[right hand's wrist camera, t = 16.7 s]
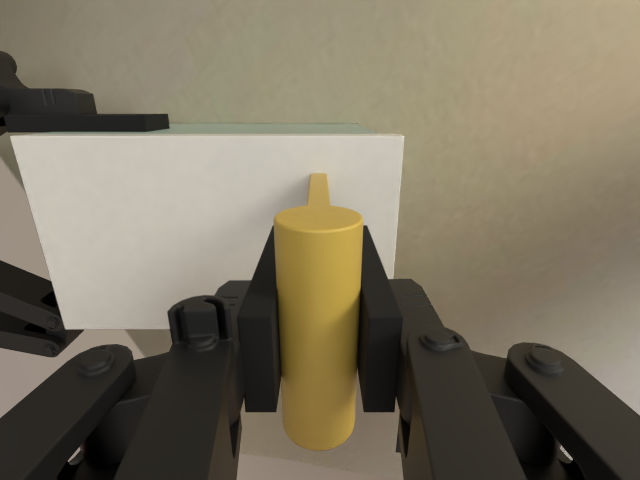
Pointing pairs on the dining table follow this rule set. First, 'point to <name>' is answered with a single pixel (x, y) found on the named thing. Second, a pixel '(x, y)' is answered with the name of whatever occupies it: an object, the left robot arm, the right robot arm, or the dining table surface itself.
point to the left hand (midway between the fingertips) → (172, 217)
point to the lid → (222, 240)
